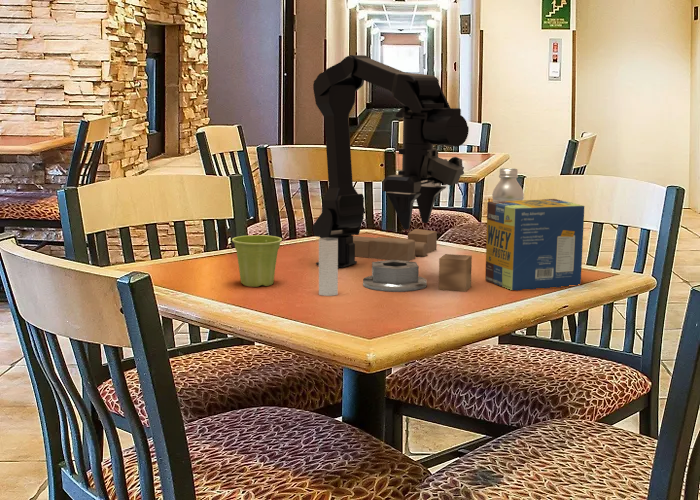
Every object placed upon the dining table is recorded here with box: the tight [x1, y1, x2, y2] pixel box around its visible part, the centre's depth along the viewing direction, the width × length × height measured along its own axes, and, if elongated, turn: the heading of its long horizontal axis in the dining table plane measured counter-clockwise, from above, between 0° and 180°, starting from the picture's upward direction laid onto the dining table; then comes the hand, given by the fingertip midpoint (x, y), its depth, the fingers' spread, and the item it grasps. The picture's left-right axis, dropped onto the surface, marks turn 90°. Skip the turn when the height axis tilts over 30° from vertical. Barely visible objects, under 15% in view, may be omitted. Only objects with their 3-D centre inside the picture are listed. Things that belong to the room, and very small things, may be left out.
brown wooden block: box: [438, 253, 473, 293], centre depth 185 cm, size 5×5×6 cm
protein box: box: [484, 198, 585, 291], centre depth 189 cm, size 10×15×16 cm
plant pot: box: [231, 234, 283, 288], centre depth 187 cm, size 9×9×9 cm
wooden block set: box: [353, 228, 438, 262], centre depth 223 cm, size 17×6×18 cm
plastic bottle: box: [491, 167, 525, 202], centre depth 210 cm, size 6×7×20 cm
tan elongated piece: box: [318, 237, 339, 297], centre depth 179 cm, size 4×3×10 cm
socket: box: [362, 260, 428, 293], centre depth 187 cm, size 12×12×4 cm
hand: (416, 226), depth 188 cm, fingers open, 9 cm apart
